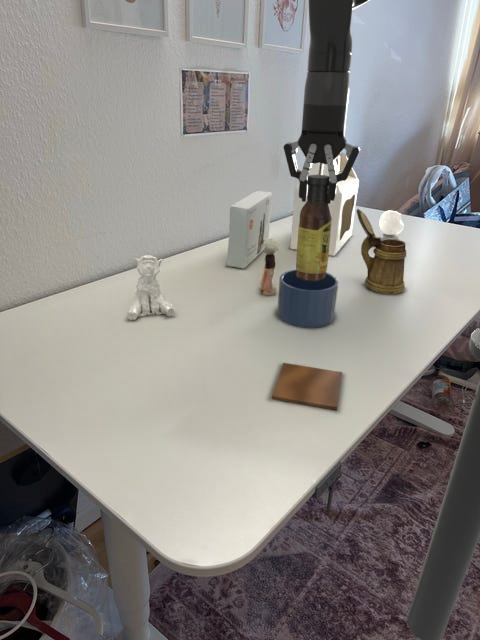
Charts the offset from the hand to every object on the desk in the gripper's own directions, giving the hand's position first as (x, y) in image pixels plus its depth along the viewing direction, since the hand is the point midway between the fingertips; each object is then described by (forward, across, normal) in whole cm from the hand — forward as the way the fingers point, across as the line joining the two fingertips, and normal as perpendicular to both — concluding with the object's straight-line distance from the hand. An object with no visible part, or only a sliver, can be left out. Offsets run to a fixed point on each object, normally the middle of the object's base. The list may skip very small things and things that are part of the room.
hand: (316, 201), depth 90 cm
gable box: (+24, -2, +51) cm, 56 cm away
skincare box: (+24, -20, +32) cm, 45 cm away
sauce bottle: (+15, 0, 0) cm, 15 cm away
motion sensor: (+24, +18, +66) cm, 73 cm away
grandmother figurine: (+24, -10, +9) cm, 28 cm away
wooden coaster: (+24, +4, -26) cm, 35 cm away
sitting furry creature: (+24, -32, -8) cm, 41 cm away
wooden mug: (+24, +14, +21) cm, 35 cm away
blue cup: (+24, 0, 0) cm, 24 cm away
